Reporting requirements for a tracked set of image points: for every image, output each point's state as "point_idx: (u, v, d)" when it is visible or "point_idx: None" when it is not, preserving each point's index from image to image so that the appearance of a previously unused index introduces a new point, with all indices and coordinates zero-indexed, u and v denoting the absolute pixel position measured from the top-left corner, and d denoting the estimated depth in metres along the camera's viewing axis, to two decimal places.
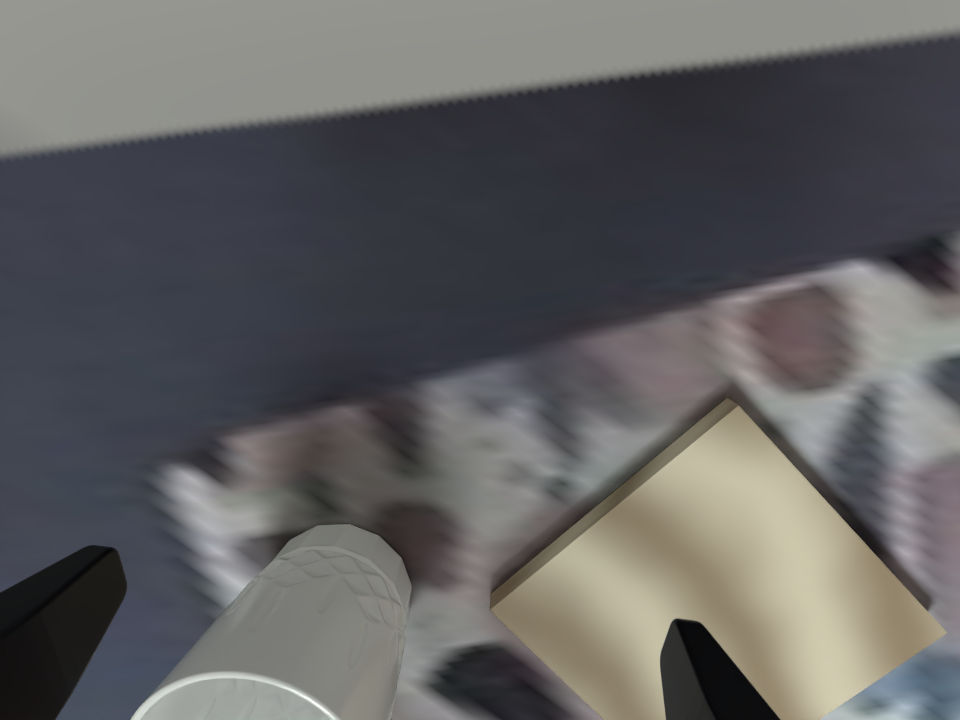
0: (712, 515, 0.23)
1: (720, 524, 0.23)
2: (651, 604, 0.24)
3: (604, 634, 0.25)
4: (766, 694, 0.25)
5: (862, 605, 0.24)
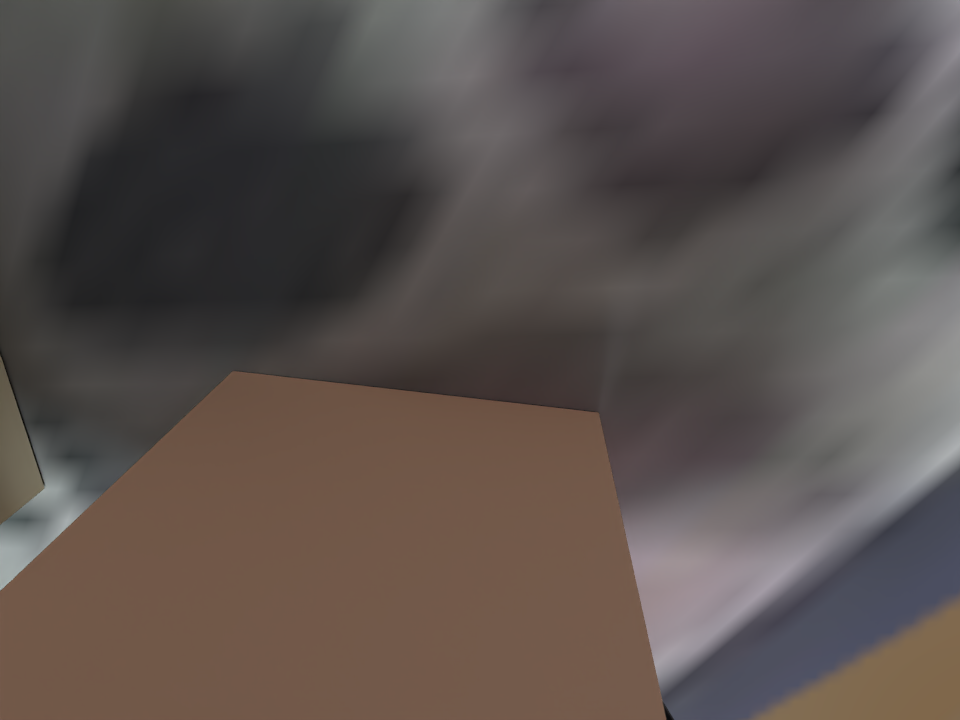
0: None
1: None
2: None
3: None
4: None
5: None
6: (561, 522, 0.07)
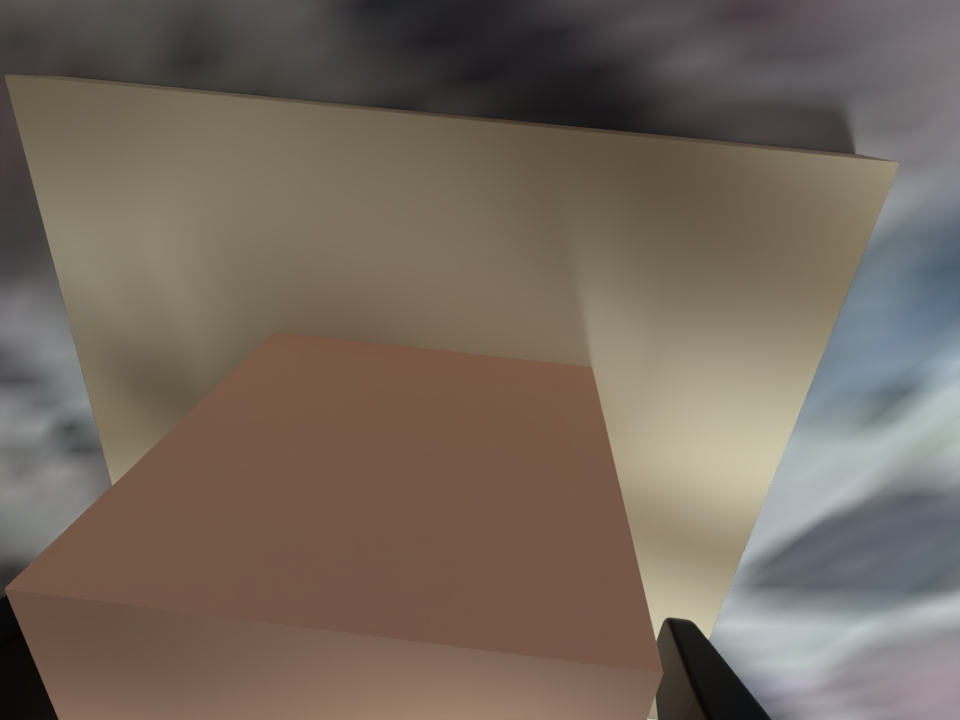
0: (220, 317, 0.10)
1: (248, 322, 0.10)
2: None
3: None
4: None
5: (644, 257, 0.09)
6: (560, 445, 0.08)
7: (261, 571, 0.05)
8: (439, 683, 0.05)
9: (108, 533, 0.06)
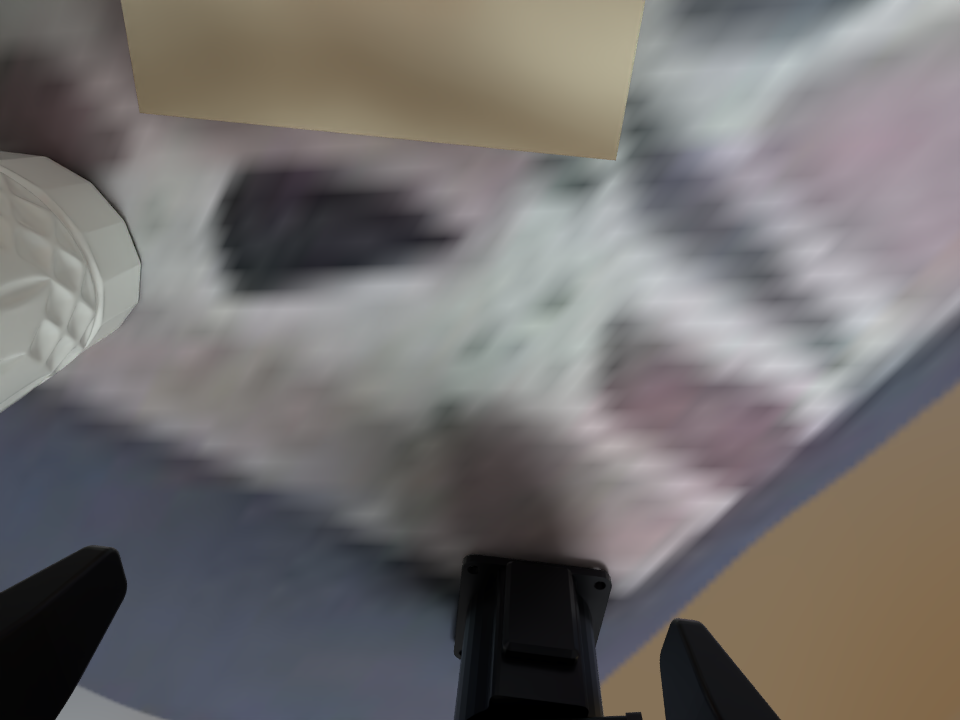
0: None
1: None
2: None
3: (276, 6, 0.15)
4: None
5: None
6: None
7: None
8: None
9: None
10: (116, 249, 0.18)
